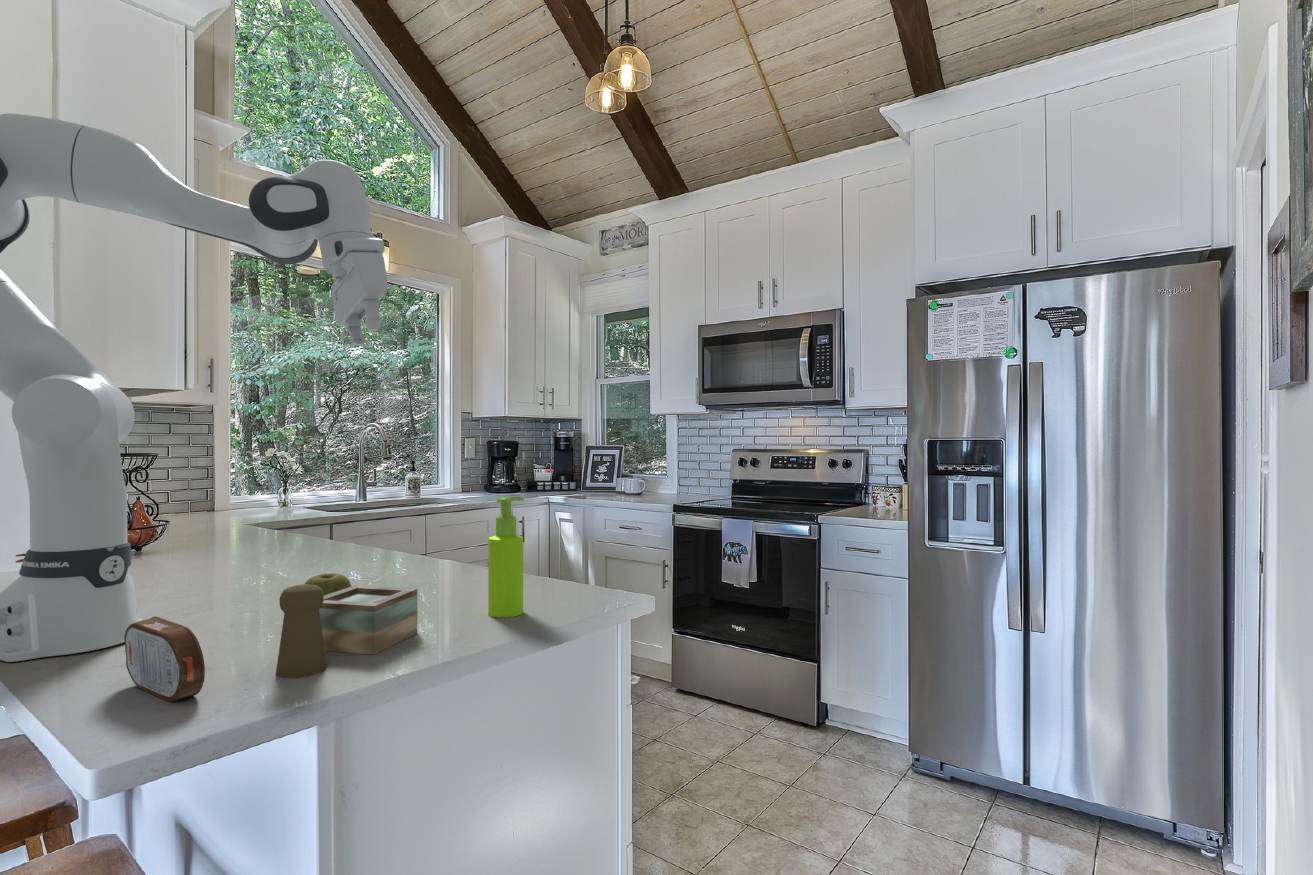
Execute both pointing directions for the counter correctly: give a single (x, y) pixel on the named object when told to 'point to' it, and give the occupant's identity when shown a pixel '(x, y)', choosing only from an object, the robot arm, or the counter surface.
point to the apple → (329, 582)
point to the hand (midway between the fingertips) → (366, 337)
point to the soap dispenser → (505, 565)
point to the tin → (164, 658)
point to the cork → (301, 632)
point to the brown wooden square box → (368, 618)
